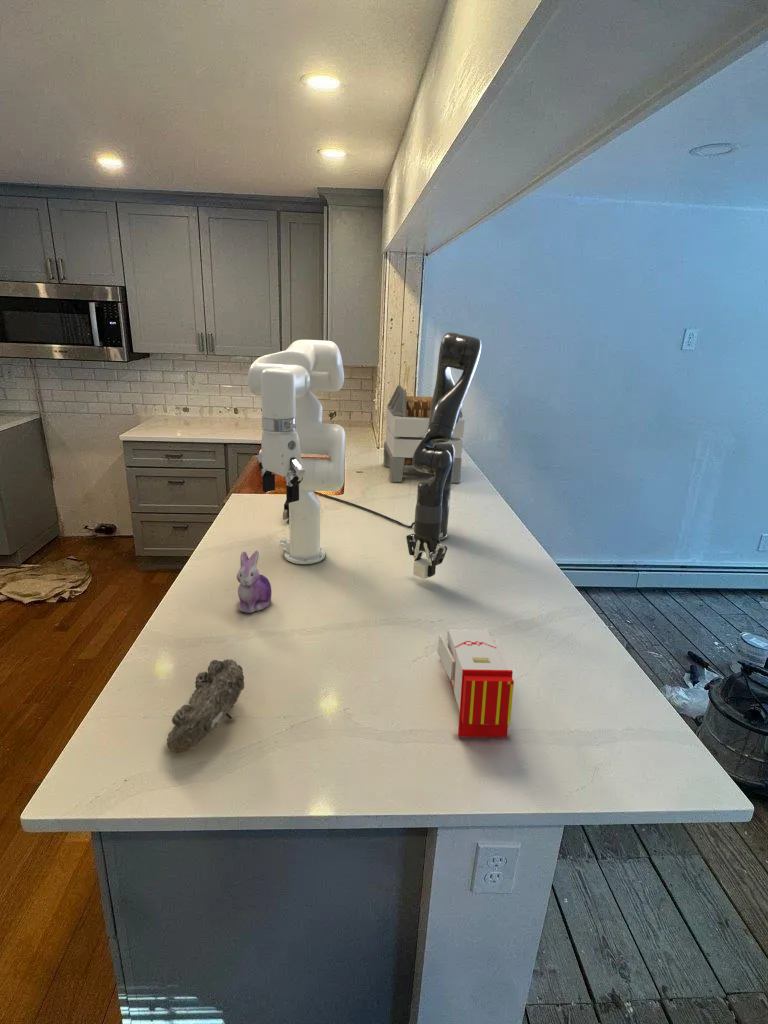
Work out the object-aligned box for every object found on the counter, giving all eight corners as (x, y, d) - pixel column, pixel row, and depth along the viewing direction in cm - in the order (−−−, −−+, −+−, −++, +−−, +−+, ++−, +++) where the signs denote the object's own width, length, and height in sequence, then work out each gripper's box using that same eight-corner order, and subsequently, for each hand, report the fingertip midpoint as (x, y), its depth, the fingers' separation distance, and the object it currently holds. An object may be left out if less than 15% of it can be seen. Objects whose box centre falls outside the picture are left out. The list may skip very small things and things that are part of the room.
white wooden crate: (382, 463, 289) (386, 382, 275) (445, 464, 293) (451, 384, 279) (390, 482, 257) (394, 392, 243) (460, 483, 261) (468, 394, 247)
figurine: (241, 617, 142) (239, 563, 137) (232, 599, 151) (229, 547, 146) (278, 610, 146) (277, 557, 141) (266, 592, 155) (265, 542, 150)
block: (434, 574, 165) (435, 561, 163) (424, 579, 161) (425, 566, 160) (424, 569, 167) (424, 557, 166) (413, 574, 164) (413, 561, 163)
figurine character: (300, 529, 203) (305, 510, 217) (300, 510, 200) (305, 492, 213) (282, 528, 203) (287, 510, 216) (281, 509, 200) (287, 492, 213)
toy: (488, 613, 130) (523, 677, 101) (484, 667, 133) (517, 744, 104) (435, 612, 130) (455, 676, 101) (432, 666, 133) (451, 743, 103)
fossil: (192, 660, 117) (244, 628, 112) (224, 691, 120) (276, 661, 115) (142, 746, 98) (202, 712, 93) (182, 779, 101) (242, 748, 96)
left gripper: (316, 429, 125) (315, 502, 131) (271, 416, 137) (273, 484, 143) (287, 433, 120) (289, 509, 126) (244, 419, 132) (247, 490, 137)
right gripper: (456, 521, 156) (451, 577, 162) (418, 508, 166) (414, 561, 172) (439, 528, 151) (434, 585, 157) (400, 513, 161) (397, 568, 166)
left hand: (280, 496), depth 134 cm, fingers open, 9 cm apart
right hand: (424, 572), depth 164 cm, fingers closed on block, 4 cm apart
